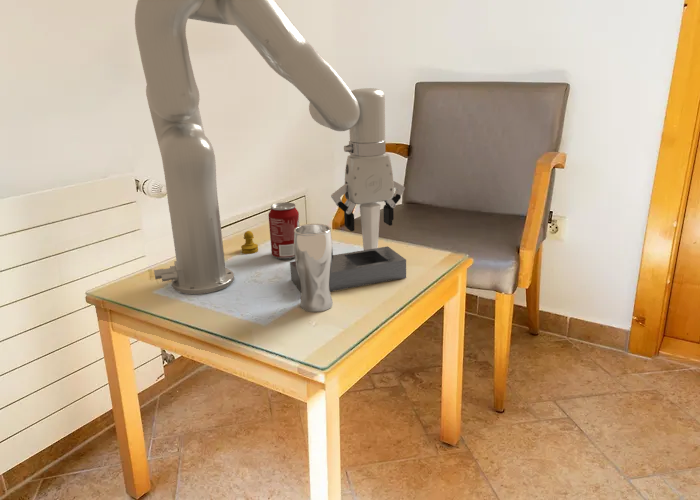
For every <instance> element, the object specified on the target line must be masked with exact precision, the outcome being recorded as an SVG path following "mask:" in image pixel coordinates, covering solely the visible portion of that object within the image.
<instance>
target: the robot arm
mask: <svg viewBox="0 0 700 500" xmlns="http://www.w3.org/2000/svg"><path fill="white" fill-rule="evenodd" d="M188 20H195V21H201V22H207V23H214V24H221V25H229V26H236V27H237V28H238V30H239V31H240V32H241V34H243V36H244V37H245V38H246V39H247V40H248V41H249V42H250V44H251V45H252V46H253V48H255V50H256V51H257V53H259V55H260V56H261V58H262V59H264V61H265V62H266V64H267V65H268V66H269V67H270V68H271V69H272V70H273V71H274V72H275V73H277V75H279V76H280V77H282V78H283V79H285V80H286V81H288V82H289V83H291V84H292V85H293V86H294V87H295V88H296V89H297V90H298V91H299V92H300V93H301V94H302V95H303V96H304V97H305V98H306V99H307V101H308V102H309V105H308V111H309V114H310V116H311V118H312V119H313V121H314V122H316V123H317V124H318V125H321V126H323V127H325V128H328V129H330V130H332V131H336V132H345V131H348V132H349V141H348V144H347V145H344V146H343V151H344V153H349V154H350V155H347V158H346V164H345V170H344V184H343V185H341V186H340V187H339V188H338V189H337V190H335V191H334V192H333V193H332V194H331V195H330V196H331V197H330V198H331V199H332V200H333V202H334V203H335V205H336V206H337V207H338V208H339V209H340V210H342V211H343V212H344V213H343V215H344V218H343V219H344V226H345V227H346V229H348V230H349V231H350V232H354V231H355V214H354V213H353V211H354V209H355V207H356V206H357V205H361V204H367V203H375V202H376V203H380V202H381V203H382V202H384V203H385V204H384V205H383V222H384V224H386V225H388V226H389V227H390V226H393V221H394V218H395V217H394V214H395V213H394V209H395V207H396V205H397V204H398V202H399V201H400V200H401V198H402V197H401V196H402V195H403V193H404V191H405V190H406V187H405V186H403V185H402V184H401V183H398V182H396V181H395V180H394V176H393V174H394V173H393V167H392V162H391V157H390V154H389V153H386V98H385V93H384V91H383V90H382V89H380V88H374V87H373V88H371V87H370V88H367V87H366V88H364V87H363V88H356V89H353V90H351V89H350V88H349V87H348V85H347V84H346V83H345V81H343V79H342V78H341V77H340V75H339V74H338V73H337V72H336V70H335V69H334V68H333V67H332V66H331V65H330V64H329V62H327V61H326V60H325V59H324V58H323V56H321V54H320V53H319V52H318V51H317V50H316V49H315V48H314V47H313V45H312V44H311V43H310V42H308V41H307V39H305V37H304V35H302V33H300V31H299V30H298V28H297V27H296V26H295V24H293V22H292V21H291V20H290V18H289V17H288V15H287V14H286V13H285V12H284V10H283V9H282V7H281V6H280V5H279V4H278V3H277V1H276V0H137V2H136V5H135V13H134V29H135V35H136V41H137V46H138V50H139V54H140V60H141V65H142V69H143V74H144V77H145V82H146V83H145V84H146V87H145V93H146V94H145V95H146V100H147V104H148V108H149V113H150V116H151V120H152V124H153V129H154V132H155V137H156V139H157V140H156V141H157V143H158V144H157V145H158V148H159V152H160V156H161V161H162V167H163V172H164V173H163V174H164V180H165V189H166V196H167V204H168V213H169V216H170V223H171V230H172V239H173V246H174V252H175V259H176V260H174V261H173V262H174V265H170V266H169V268H161V269H160V268H159V269H154V270H153V272H154V273H153V274H154V279H155V280H160V279H161V281H162V282H169V281H171V288H172V289H173V290H174V291H176V292H178V293H180V294H187V295H201V294H208V293H214V292H218V291H220V290H224V289H225V288H227V287H229V286H230V285H231V284H233V283H234V281H235V275H234V274H235V273H234V272H233V271H232V270H231V269H230V268H227V267H226V261H225V252H224V243H223V242H224V241H223V233H222V226H221V225H222V223H221V215H220V206H219V197H218V187H217V185H218V184H217V165H216V156H215V151H214V148H213V147H214V146H212V143H211V142H210V141H211V140H209V138H208V137H207V136H206V134H205V131H204V126H203V122H202V118H201V117H202V116H201V113H200V108H199V104H200V100H201V99H200V92H199V88H198V84H197V82H196V78H195V74H194V71H193V66H192V61H191V56H190V52H189V45H188V39H187V33H186V32H187V30H186V29H187V22H188ZM343 196H344V197H345V200H346V201H345V202H343V201H342V199H341V197H343Z"/></svg>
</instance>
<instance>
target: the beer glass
mask: <svg viewBox="0 0 700 500" xmlns="http://www.w3.org/2000/svg"><path fill="white" fill-rule="evenodd" d="M333 251H334V248H333V238H332V232H331V227H330V226H329V225H328V224H327V225H326V224H323V223H306V224H301V225H299V226H298V227H296V228H295V229H294V254H295V258H294V261H295V262H296V267H297V271H298V275H299V279H300V283H301V292H300V293H301V294H300V301H299V302H300V303H299V306H300V308H301V309H302V310H303V311H305V312H310V313H321V312H325V311H327V310H329V309H331V307H333V305H334V304H333V299H332V295H331V292H330V276H331V269H332V261H333V255H334V254H333V253H334V252H333Z"/></svg>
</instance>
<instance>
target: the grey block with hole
mask: <svg viewBox="0 0 700 500" xmlns="http://www.w3.org/2000/svg"><path fill="white" fill-rule="evenodd" d="M289 267H290V280H291V282H292V283H293V284H294V286H295V287H296V288H297V289H298V291H299V292H300V293H301V283H300V279H299V275H298V271H297V267H296V262H295V260H294V261H290V262H289ZM406 278H407V259H406V258H405V257H403V256H402V255H400V254H399V253H398V252H396V251H395V250H393V249H392V248H391V247H389V246H382V247H381V246H380V247H378V248H375V249H369V250H364V249H363V250H356V251H352V252H345V253H338V254H333V261H332V269H331V276H330V293H331V292H335V291H336V292H337V291H342V290H347V289H353V288H358V287H363V286H370V285H374V284H375V285H376V284H381V283H385V282H390V281H397V280H401V279H402V280H403V279H406Z"/></svg>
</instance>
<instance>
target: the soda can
mask: <svg viewBox="0 0 700 500" xmlns="http://www.w3.org/2000/svg"><path fill="white" fill-rule="evenodd" d="M299 214H300V213H299V211H298V209H297V208H296V203H294V202H293V203H292V202H286V201H284V202H276V203H273V204H271V205H270V210H269V212H268V215H267V216H268V224H269V225H268V226H269V237H270V238H269V239H270V253H271V256H272V257H273V258H276V259H277V260H281V261H283V260H284V261H286V260H292V259H295V254H294V229H295V228H296V227H298V226H300V215H299Z"/></svg>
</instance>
